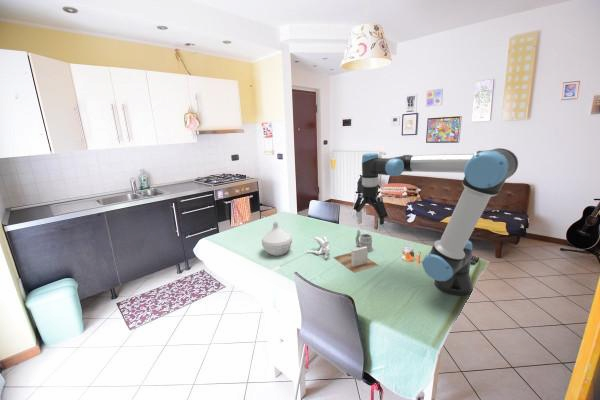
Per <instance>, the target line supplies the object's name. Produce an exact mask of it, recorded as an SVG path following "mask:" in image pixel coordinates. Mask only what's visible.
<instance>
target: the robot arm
mask: <svg viewBox="0 0 600 400" xmlns="http://www.w3.org/2000/svg"><path fill="white" fill-rule="evenodd" d="M518 167H519V160H518V157H517V155H516V154H515V153H514V152H512V151H511V150H509V149H506V148H493V149H488V150H477V151H476V152H475V153H455V154H454V153H450V154H419V155H418V154H416V155H413V154H412V155H411V154H403V155H400V156H394V157H390V158H386V157H384V158H383V157H382V158H381V157H379V153H377V152H368V153H363V154H362V158H361V171H362V173H361V174H362V175H361V185H362V186H361V192H360V193H358V194H357V198H356V200H355V203H354V206H353V210H354V211H356V218H357V219H356V221H357V222H356V223H357V225H361V224H363V211H362V209H363V208H364V207H365V206H366V205H370V206H372V207H373V209H374V211H375V212H376V214H377V216H378V218H377V232H381V231H383V230H384V224H385V218H388V217H389V215H388V212H387V210H386V207H385V203H384V199H383V198H384V197H382V196H378V195H377V194H379V175H383V176H389V177H400V176H401V175H402V174H403V172H404V173H405V172H406V173H407V172H409V173H410V172H417V173H418V172H422V173H423V172H424V173H460V174H461V173H463V175H464V177H463V180H462V182H461V184H462V186H463V187H464V189H463V191H462V192H461V194H460V197H459V198H458V201H457V203H456V206H455V207H454V209H453V212H452V214H451V216H450V218H449V221H448V222H447V224H446V226H445V229H444V232H443V233H442V235H441V237H440V239H438V240H435V242H434V243H433V244H432V247H431V250H430V252H429V253H428V254H426V255H425V256H424V257H423V260H422V261H421V264H422V269H424V272H425V273H426V275H428V276H429V277H430V278H431V279H432V280H434V281H433V282H434V286H435V287H436V288H437V289H438V290H441V292H444V293H447V294H449V295H453V296H465V295H469V294H470V293H472V291H473V283H472V279H471V276H470V270H471V269H470V268H471V262H472V254H473V243H472V241H470V240H469V239H470V237H471V236H472V234H473V232H474V230H475V228H476V226H477V224H478V222H479V220H480V219H481V217H482V215H483V213H484V211H485V209H486V207H487V205H488V203H489V201H490V199H491V197H496V196H498V195H499V193H500V192H501V189H502V187H503V186H504V184H505V182H506V180H507V179H509V178H510V177H512V176H513V175H515V173H516V172H517V170H518Z"/></svg>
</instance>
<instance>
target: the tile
mask: <svg viewBox="0 0 600 400" xmlns="http://www.w3.org/2000/svg"><path fill="white" fill-rule="evenodd" d="M351 252H352V266H353V267H355V266H358V265H362V264H365V263H367V259H369V257H368V255H369V254H368V253H369V252H368V247H366V246H364V247H361V248H359V247H358V248H354V249H351Z"/></svg>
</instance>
